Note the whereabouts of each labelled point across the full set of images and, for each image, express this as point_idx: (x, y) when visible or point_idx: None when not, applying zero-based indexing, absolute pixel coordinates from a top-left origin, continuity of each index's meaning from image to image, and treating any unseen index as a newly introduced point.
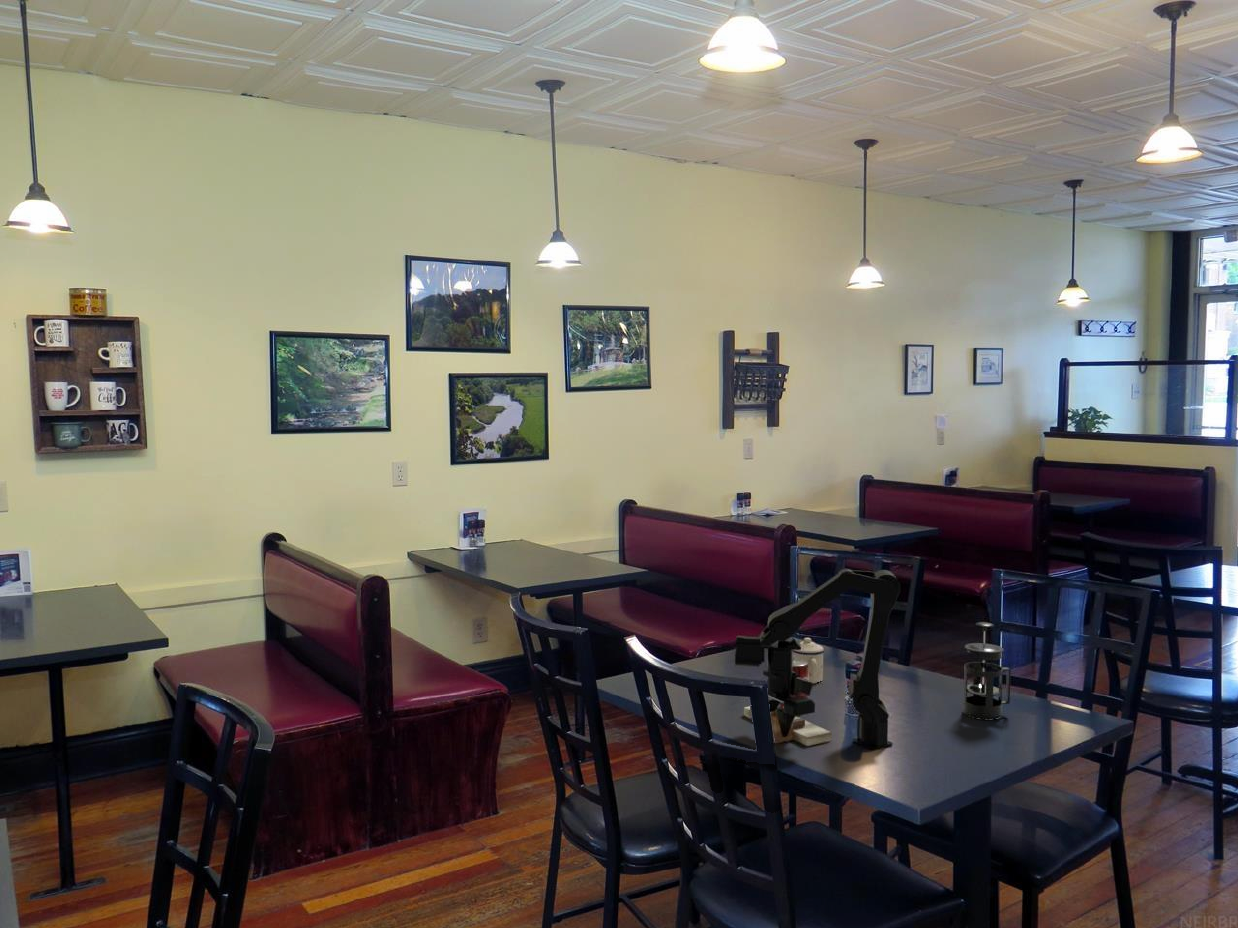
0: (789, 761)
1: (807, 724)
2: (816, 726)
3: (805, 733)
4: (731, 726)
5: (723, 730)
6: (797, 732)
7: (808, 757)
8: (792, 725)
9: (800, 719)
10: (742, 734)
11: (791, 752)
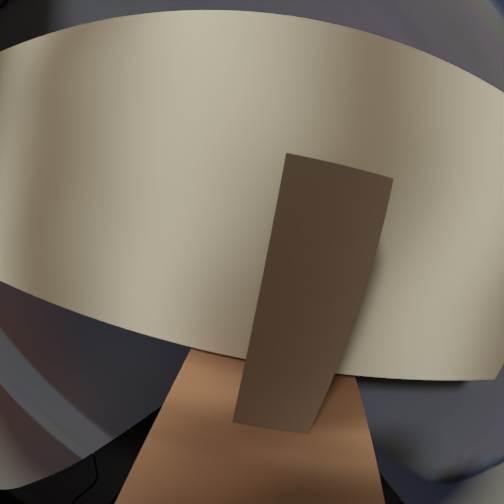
0: (446, 481)
1: (329, 86)
2: (433, 73)
3: (464, 336)
4: (14, 377)
5: (46, 426)
6: (402, 375)
7: (500, 421)
8: (364, 436)
9: (328, 225)
10: (102, 433)
11: (426, 449)
